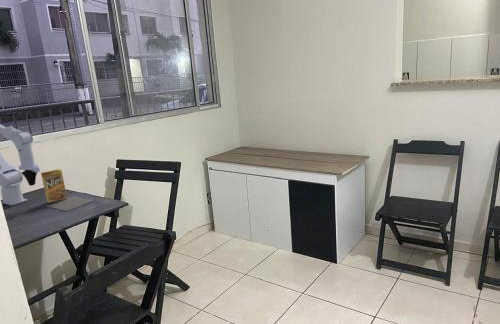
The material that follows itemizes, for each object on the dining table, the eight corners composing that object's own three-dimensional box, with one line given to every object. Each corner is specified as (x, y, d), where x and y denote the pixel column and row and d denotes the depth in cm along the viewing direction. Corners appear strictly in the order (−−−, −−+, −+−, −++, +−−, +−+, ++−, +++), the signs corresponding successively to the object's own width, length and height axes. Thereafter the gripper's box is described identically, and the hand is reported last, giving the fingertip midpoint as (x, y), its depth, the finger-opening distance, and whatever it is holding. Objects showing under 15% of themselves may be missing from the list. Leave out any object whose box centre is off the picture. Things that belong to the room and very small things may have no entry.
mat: (46, 206, 175) (46, 206, 175) (74, 196, 188) (74, 196, 188) (66, 211, 167) (66, 211, 167) (94, 200, 180) (94, 200, 180)
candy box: (47, 203, 179) (41, 172, 176) (46, 201, 182) (40, 172, 180) (67, 199, 184) (61, 169, 181) (66, 197, 187) (60, 168, 184)
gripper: (43, 157, 174) (48, 184, 177) (26, 154, 181) (32, 181, 184) (28, 160, 168) (34, 188, 171) (11, 158, 175) (17, 185, 178)
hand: (32, 184), depth 177 cm, fingers closed
